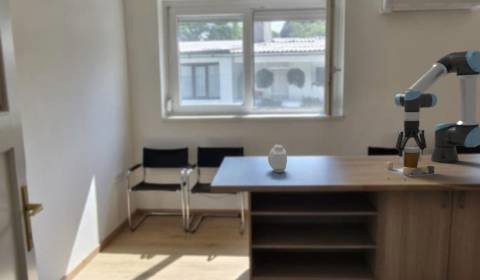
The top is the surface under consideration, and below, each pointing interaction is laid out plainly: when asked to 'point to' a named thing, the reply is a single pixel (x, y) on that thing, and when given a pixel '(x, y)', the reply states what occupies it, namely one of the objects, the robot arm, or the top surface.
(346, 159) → the top surface
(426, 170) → the stool leg
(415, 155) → the disposable coffee cup
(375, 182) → the top surface
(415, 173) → the board
